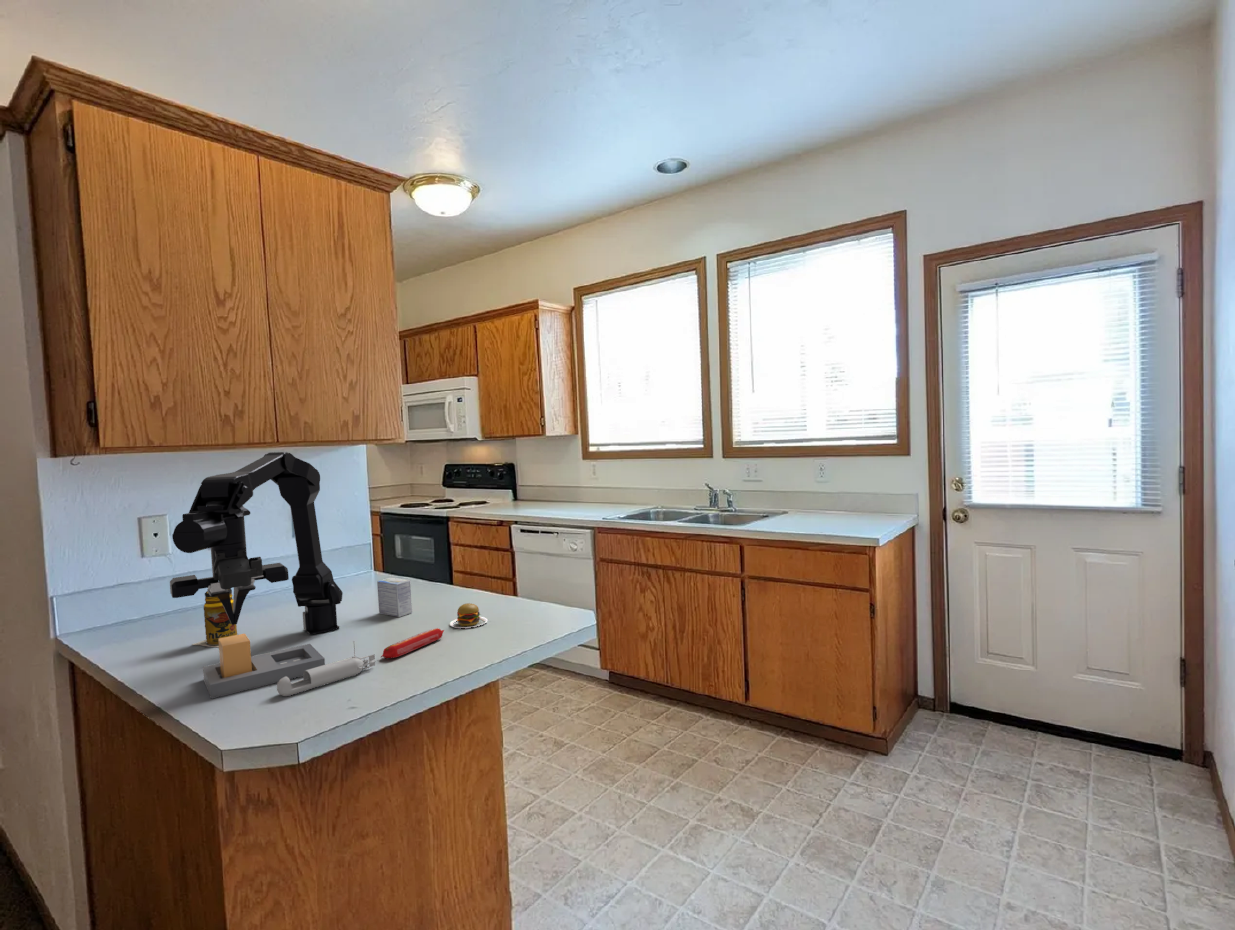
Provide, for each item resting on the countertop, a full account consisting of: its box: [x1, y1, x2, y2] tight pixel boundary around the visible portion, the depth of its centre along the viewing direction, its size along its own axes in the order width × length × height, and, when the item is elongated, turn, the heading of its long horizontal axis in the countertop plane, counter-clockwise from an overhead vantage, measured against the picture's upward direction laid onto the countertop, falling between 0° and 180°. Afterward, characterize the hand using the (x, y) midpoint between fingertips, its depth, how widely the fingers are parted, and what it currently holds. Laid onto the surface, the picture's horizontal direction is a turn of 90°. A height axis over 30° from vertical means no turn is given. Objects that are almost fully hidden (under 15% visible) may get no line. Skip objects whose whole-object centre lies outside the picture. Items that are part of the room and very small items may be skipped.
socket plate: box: [202, 643, 326, 699], centre depth 124 cm, size 19×12×2 cm, turn 128°
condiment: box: [191, 588, 238, 648], centre depth 146 cm, size 7×8×12 cm
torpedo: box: [276, 640, 376, 697], centre depth 119 cm, size 18×5×7 cm, turn 138°
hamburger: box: [449, 602, 489, 629], centre depth 153 cm, size 12×12×6 cm
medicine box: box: [377, 577, 413, 618], centre depth 164 cm, size 8×4×9 cm, turn 57°
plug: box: [218, 633, 252, 678], centre depth 122 cm, size 4×9×7 cm, turn 38°
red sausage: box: [380, 627, 445, 659], centre depth 137 cm, size 16×4×3 cm, turn 153°
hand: (234, 624), depth 121 cm, fingers closed
